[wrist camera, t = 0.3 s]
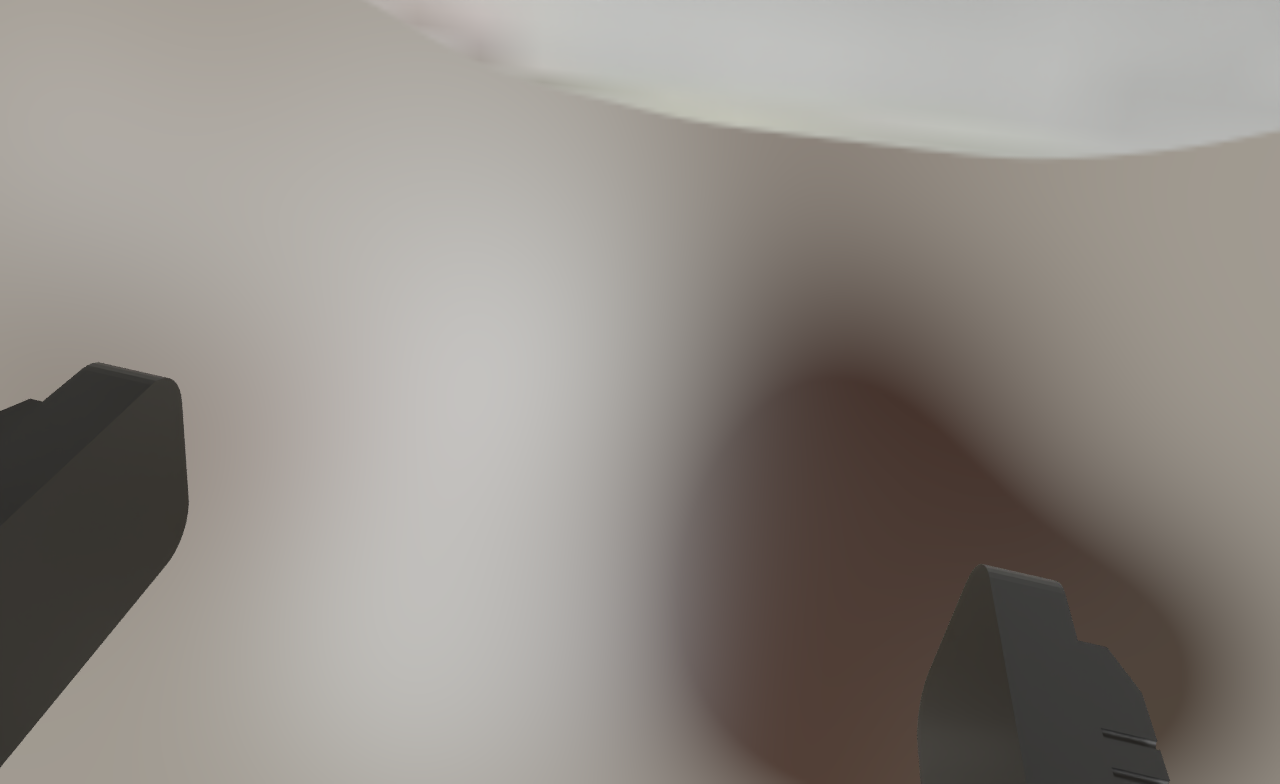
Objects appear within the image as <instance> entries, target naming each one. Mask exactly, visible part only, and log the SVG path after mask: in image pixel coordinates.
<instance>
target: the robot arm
mask: <svg viewBox="0 0 1280 784" xmlns="http://www.w3.org/2000/svg"><path fill="white" fill-rule="evenodd" d="M188 505H189V500H188V484H187V469H186V455H185V440H184V425H183V410H182V399H181V394H180V390H179V388H178V385H177V384H176V383H175V382H174V381H173V380H172V379H170V378H166V377H161V376H157V375H152V374H148V373H143V372H139V371H135V370H130V369H126V368H121V367H116V366H112V365H108V364H104V363H92V364H90V365H87V366H86V367H84V368H83V369H82V370H80V371H79V372H78V373H77V374H76V375H74V376H73V377H72V378H71V379H69V380H68V381H67V382H66V383H65V384H63V385H62V386H61V387H60V388H59V389H57V390H56V391H55V392H54V393H53V394H51V395H50V396H49V397H48V398H46V399H45V400H44V401H43V402H41V401H37V400H33V399H28V400H26V401H24V402H21V403H19V404H16V405H14V406H12V407H9V408H7V409H4V410H2V411H0V767H1V766H2V765H3V763H4V762H5V761H6V760H7V758H8V757H9V756H10V755H11V754H12V752H13V751H14V750H15V749H16V748H17V746H18V745H19V744H20V743H21V741H22V740H23V739H24V738H25V736H26V735H27V734H28V733H29V732H30V730H31V729H32V728H33V727H34V725H35V724H36V723H37V722H38V721H39V719H40V718H41V717H42V716H43V714H44V713H45V712H46V711H47V710H48V708H49V707H50V706H51V705H52V704H53V702H54V701H55V700H56V699H57V698H58V696H59V695H60V694H61V693H62V691H63V690H64V689H65V688H66V687H67V685H68V684H69V683H70V682H71V680H72V679H73V678H74V677H75V676H76V674H77V673H78V672H79V671H80V669H81V668H82V667H83V666H84V665H85V663H86V662H87V661H88V660H89V658H90V657H91V656H92V655H93V654H94V652H95V651H96V650H97V649H98V647H99V646H100V645H101V644H102V643H103V641H104V640H105V639H106V638H107V636H108V635H109V634H110V633H111V632H112V630H113V629H114V628H115V627H116V625H117V624H118V623H119V622H120V621H121V619H122V618H123V617H124V616H125V614H126V613H127V612H128V611H129V610H130V608H131V607H132V606H133V605H134V604H135V602H136V601H137V600H138V599H139V597H140V596H141V595H142V594H143V593H144V591H145V590H146V589H147V588H148V586H149V585H150V584H151V583H152V582H153V580H154V579H155V578H156V576H158V574H159V573H160V572H161V571H162V569H163V568H164V567H165V566H166V565H167V563H168V562H169V560H170V559H171V558H172V556H173V554H174V553H175V551H176V549H177V547H178V545H179V542H180V540H181V537H182V535H183V531H184V528H185V525H186V520H187V514H188ZM917 729H918V730H917V737H918V738H917V740H918V754H919V767H920V779H921V784H1169V781H1170V780H1169V777H1168V774H1167V770H1166V768H1165V764H1164V761H1163V758H1162V755H1161V752H1160V750H1156V742H1157V739H1156V736H1155V733H1154V730H1153V727H1152V723H1151V720H1150V717H1149V714H1148V711H1147V708H1146V705H1145V701H1144V698H1143V695H1142V693H1141V691H1140V690H1139V689H1138V687H1137V686H1136V685H1135V684H1134V682H1133V681H1132V680H1131V678H1130V677H1129V676H1128V674H1127V673H1126V672H1125V671H1124V669H1123V668H1122V667H1121V665H1120V664H1119V663H1118V662H1117V660H1116V659H1115V657H1114V656H1113V655H1112V654H1111V652H1110V651H1109V650H1108V648H1107V647H1104V646H1100V645H1095V644H1091V643H1086V642H1082V641H1078V640H1077V636H1076V633H1075V629H1074V625H1073V621H1072V618H1071V614H1070V610H1069V606H1068V603H1067V599H1066V595H1065V592H1064V589H1063V587H1062V585H1061V584H1060V583H1059V582H1058V581H1054V580H1050V579H1045V578H1041V577H1036V576H1032V575H1028V574H1023V573H1019V572H1014V571H1010V570H1005V569H1001V568H997V567H992V566H988V565H983V564H980V565H978V566H977V567H975V569H974V570H973V571H972V573H971V574H970V576H969V579H968V580H967V582H966V584H965V587H964V589H963V592H962V594H961V596H960V599H959V601H958V604H957V606H956V608H955V611H954V613H953V616H952V618H951V620H950V623H949V625H948V627H947V630H946V633H945V635H944V637H943V640H942V642H941V644H940V647H939V649H938V651H937V654H936V656H935V658H934V661H933V663H932V666H931V668H930V670H929V673H928V676H927V678H926V681H925V685H924V689H923V693H922V697H921V702H920V708H919V716H918V728H917Z"/></svg>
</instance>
